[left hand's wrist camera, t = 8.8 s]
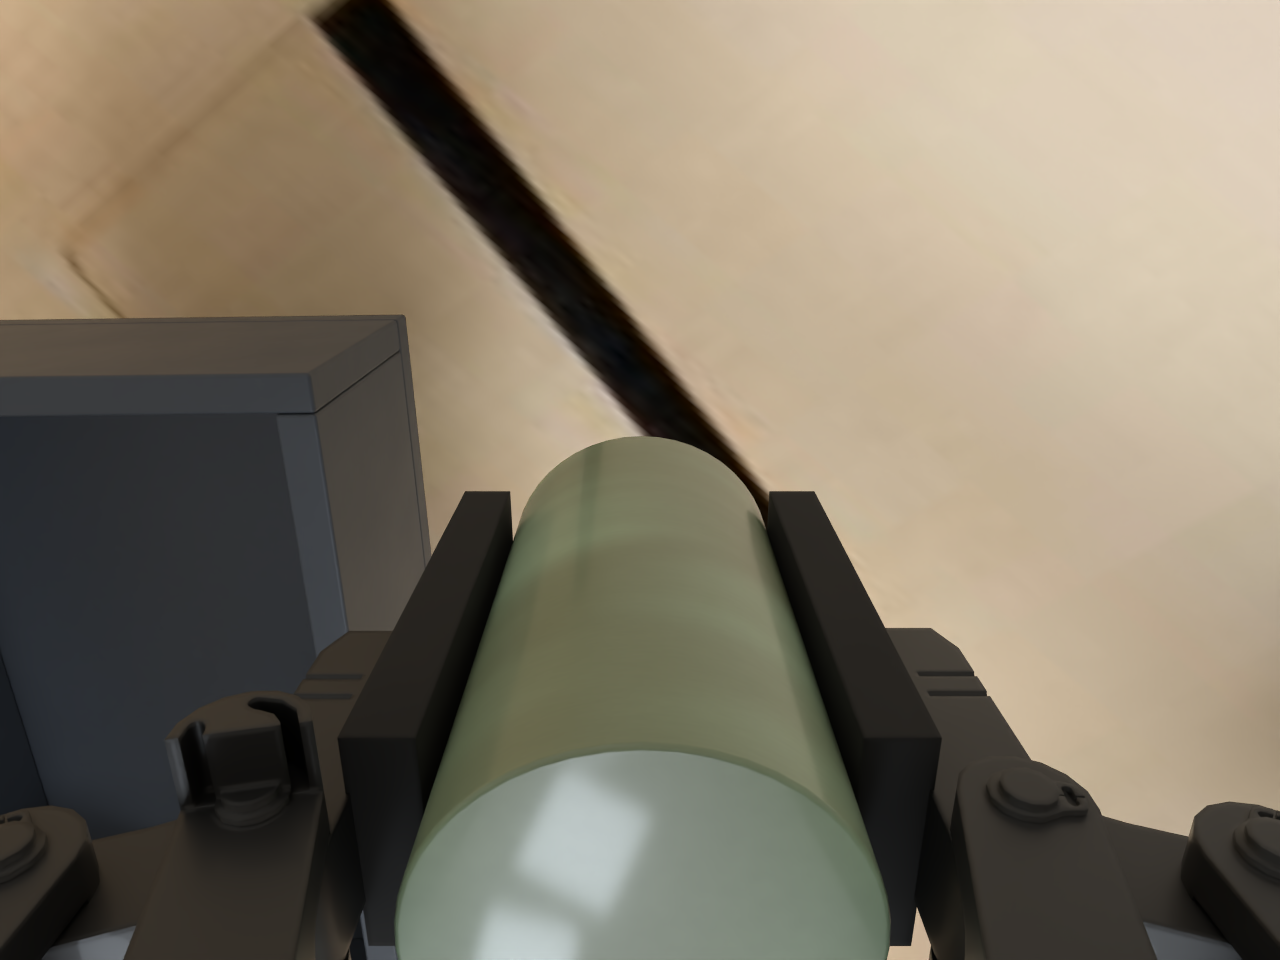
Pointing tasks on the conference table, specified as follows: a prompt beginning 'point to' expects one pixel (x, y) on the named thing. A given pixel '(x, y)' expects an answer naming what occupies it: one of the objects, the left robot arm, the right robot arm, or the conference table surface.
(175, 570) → the bin
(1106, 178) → the conference table surface
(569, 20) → the conference table surface
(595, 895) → the peg
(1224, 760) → the conference table surface
